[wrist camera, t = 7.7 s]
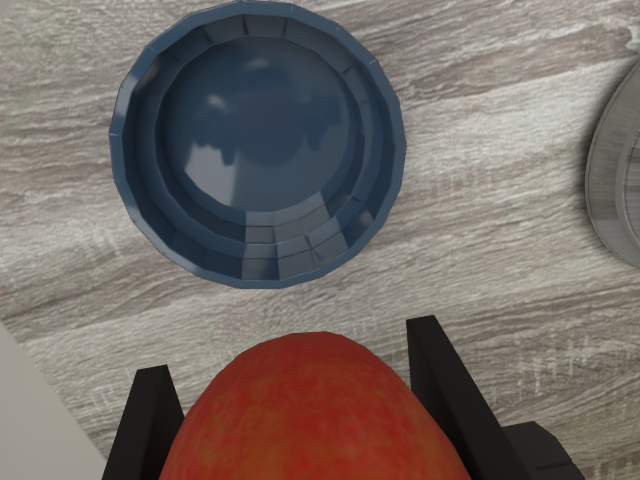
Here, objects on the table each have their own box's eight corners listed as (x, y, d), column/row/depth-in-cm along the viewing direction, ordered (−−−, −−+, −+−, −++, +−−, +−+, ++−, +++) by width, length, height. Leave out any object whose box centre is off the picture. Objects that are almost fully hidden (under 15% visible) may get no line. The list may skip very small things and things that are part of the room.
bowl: (111, 204, 26) (81, 245, 21) (174, -43, 22) (153, -58, 17) (326, 269, 29) (340, 317, 24) (418, 63, 25) (454, 74, 20)
